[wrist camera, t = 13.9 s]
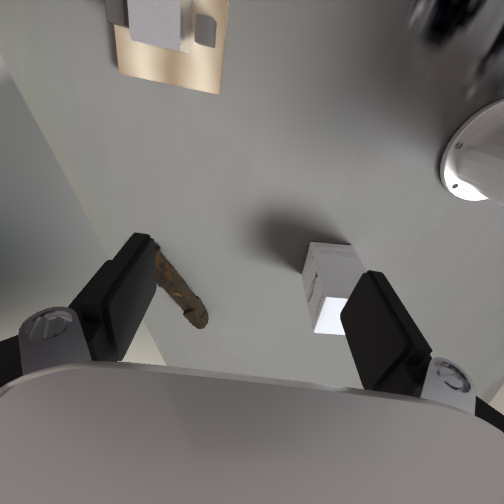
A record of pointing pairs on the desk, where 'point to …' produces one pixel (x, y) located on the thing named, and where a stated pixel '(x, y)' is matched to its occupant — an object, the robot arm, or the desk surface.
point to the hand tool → (180, 291)
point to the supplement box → (330, 283)
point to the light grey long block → (161, 23)
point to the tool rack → (171, 62)
